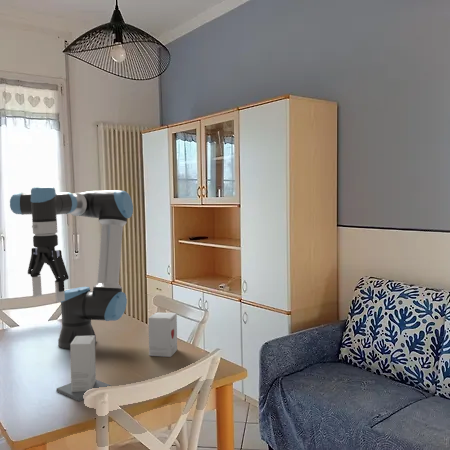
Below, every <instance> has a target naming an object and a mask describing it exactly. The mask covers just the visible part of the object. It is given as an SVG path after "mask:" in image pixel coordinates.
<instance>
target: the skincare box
mask: <svg viewBox="0 0 450 450" xmlns="http://www.w3.org/2000/svg"><path fill="white" fill-rule="evenodd" d="M95 335H96V334H95ZM95 335H92V336H76V337H75V338H74V340H73V341H72V342H71V344H70V349H69V350H70V382H71V392H86V391H87V390H89V389H92V388H93V387H94V384H95V382H96V380H97V377H96V375H97V374H96V343H95Z"/></svg>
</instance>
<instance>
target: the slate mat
mask: <svg viewBox="0 0 450 450" xmlns="http://www.w3.org/2000/svg"><path fill="white" fill-rule="evenodd" d="M107 386H111V387H112V385H111V384H108V383H106V382H104V381H101V380H98V379H96V382H95V384H94V387H93V388H99V387H107ZM55 391H56V392H57V391H58V392H57V393H59V392H60V393H59V394H61V393H62V395H63V394H64V396H66V395H67V396H66V397H68V398H70V397H71V399H73V400H75V401H77V400H78V401H77V402H81V401H83V400H84V399H83V395H84V393H85V392H71V383H68V384H65V385H64V384H63V386H62V385H61V386H60V387H56V390H55ZM80 400H81V401H80Z"/></svg>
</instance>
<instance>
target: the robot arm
mask: <svg viewBox="0 0 450 450" xmlns="http://www.w3.org/2000/svg"><path fill="white" fill-rule="evenodd" d="M9 208H10V211H11V212H12V213H13V214H16V215H24V216H25V215H31V218H32V219H31V220H32V225H31V228H32V234H33V237H32V244H33V248H31V251H30V252H31V254H30V255H31V256H30V258H29V264H28V268H27V269H28V270H27V275H30V277H31V280H32V296H33V298H35V297H41V296H42V295H43V294H42V293H43V292H42V291H43V290H42V277H41V272H42V270H43V267H44V264H46V265H48V267H49V268H50V271H51V273H52V274H53V276H54V278H55V281H54V285H55V286H54V287H55V302H56V303H60V308H61V309H60V310H61V330H60V333H59V336H58V339H57V342H58V343H57V344H58V345H57V346H58V347H59V348H61V349H69V350H70V344H71V342H72V341H73V340H74V338H75V337H76V336H92V335H95V344H96V342H97V335H96V333H95V330H94V327H93V325H92V321H94V320H95V321H104V322H105V321H106V322H110V321H111V322H112V321H119V320H120V319H121V318H122V316H123V315H124V313H125V311H126V308H127V303H128V299H127V294H126V293H125V292H123V287H122V286H121V285H120V283H119V282H120V271H121V270H120V269H121V256H122V243H123V242H122V241H123V228H124V226H126V224H127V222H128V219H131V218H132V216H133V214H134V213H133V212H134V204H133V200H132V197H131V195H130V193H128V191H125V190H119V189H114V190H113V189H112V190H90V191H84V192H74V193H71V192H70V191H69V192H67V191H62V192H60V191H58V192H56V189H55V187H53V186H43V187H42V186H40V187H39V186H37V187H32V188H31V189H30V192H19V193H14V194H13V195H12V196H11V197H10V199H9ZM68 214H69V215H72V216H74V217H85V218H90V219H91V218H92V219H98V222H99V224H100V225H101V231H100V244H99V245H100V246H99V258H98V269H97V271H98V272H97V282H96V284H94V285H93V287H92V290H91V288H90V286H80V287H75V288H70V289H67V290H65V281H67V280H69V275H68V271H67V268H66V265H65V262H64V258H63V256H62V255H63V254H62V250H61V249H56V246H58V245H59V239H58V235H57V233H58V219H57V215H68Z"/></svg>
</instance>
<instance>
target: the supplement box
mask: <svg viewBox="0 0 450 450" xmlns="http://www.w3.org/2000/svg"><path fill="white" fill-rule="evenodd" d="M177 317H178V314H177V313H176V312H155V313H153V314H152V315H150V316H149V317H148V356H149V357H164V358H165V357H168V358H172V356H173V355H174V354H175V353H176V352H177V351H178V319H177Z"/></svg>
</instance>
